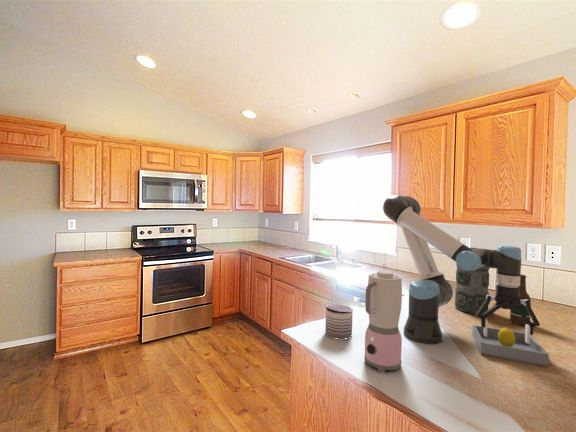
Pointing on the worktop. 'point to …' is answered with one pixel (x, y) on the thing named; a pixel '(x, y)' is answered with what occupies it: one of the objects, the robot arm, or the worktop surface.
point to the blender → (383, 321)
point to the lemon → (506, 337)
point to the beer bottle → (521, 305)
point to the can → (338, 321)
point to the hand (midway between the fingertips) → (505, 338)
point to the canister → (471, 289)
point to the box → (516, 352)
